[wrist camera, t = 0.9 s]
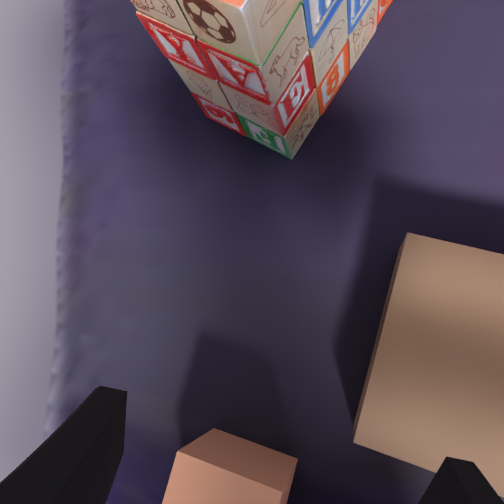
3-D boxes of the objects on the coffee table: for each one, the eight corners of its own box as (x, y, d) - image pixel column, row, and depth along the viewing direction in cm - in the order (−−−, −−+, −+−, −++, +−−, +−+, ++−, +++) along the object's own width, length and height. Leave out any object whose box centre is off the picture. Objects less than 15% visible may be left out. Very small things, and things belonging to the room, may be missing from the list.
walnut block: (557, 496, 19) (608, 535, 15) (353, 423, 22) (353, 442, 18) (597, 298, 20) (654, 288, 16) (398, 250, 23) (407, 232, 19)
